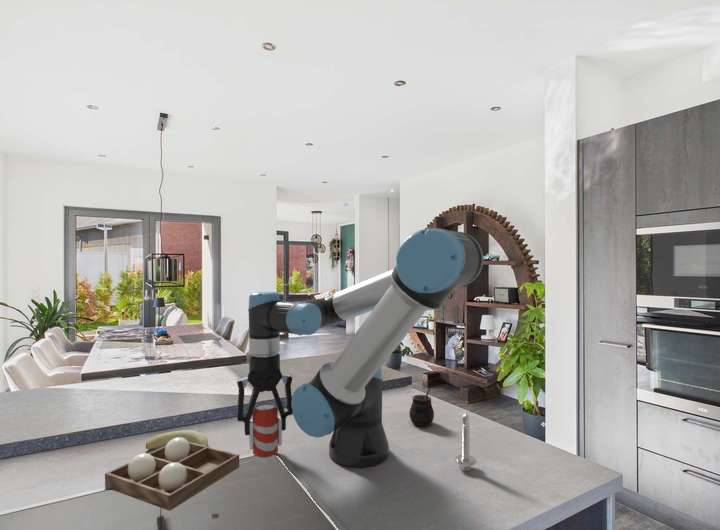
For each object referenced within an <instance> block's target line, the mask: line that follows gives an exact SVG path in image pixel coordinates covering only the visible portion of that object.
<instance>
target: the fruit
mask: <svg viewBox="0 0 720 530" xmlns="http://www.w3.org/2000/svg"><path fill="white" fill-rule="evenodd" d="M177 437H181V438H184V439H186V440H187V441H188V442H192V443H196V444H200V445H204V446H208V445H209V439H208V437H207V436H206V435H205V434H204V433H202V432H199V431H197V430H191V429H190V430H189V429H186V430H185V429H183V430H175V431H168V432H164V433H160V434H157V435H155V436H152V437H151V438H150V439H149V440H147V441H146V443H145V449H147V450H157V449H159V448H161V447H164V446H166V445H167V443H168V442H169V441H170V440H172V439H174V438H177Z"/></svg>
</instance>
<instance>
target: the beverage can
mask: <svg viewBox="0 0 720 530" xmlns="http://www.w3.org/2000/svg"><path fill="white" fill-rule="evenodd" d="M278 412H279V410H278V408H277V407H276V403H272V402H262V403H258V404H255V407H254V410H253V413H252V421H253V449H252V454H253V455H255V456H257V457H258V458H262V459H263V458H265V459H266V458H271V457H273V456H274V455H275V454H277V453H278V452H279V445H278V416H279V415H278Z"/></svg>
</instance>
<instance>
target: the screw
mask: <svg viewBox="0 0 720 530" xmlns="http://www.w3.org/2000/svg"><path fill="white" fill-rule="evenodd" d="M469 416H470V415H469V414H467V413H464V414H463V415H462V427H461V428H462V429H461V433H462V434H461V448H462V449H461V454H459V455H457V456H455V458H454V462H455V463H457V464H458V465H459V469H460V470H461V471H463V472H470V471H471V470H472V467H473V466H475V465H476V464H477V460H476V458H475V457H474V456H472V455H470V450H471V449H470V448H471V447H470V443H471V441H470V435H471V434H470V433H471V431H470V430H471V429H470V424H469V418H470V417H469Z"/></svg>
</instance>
